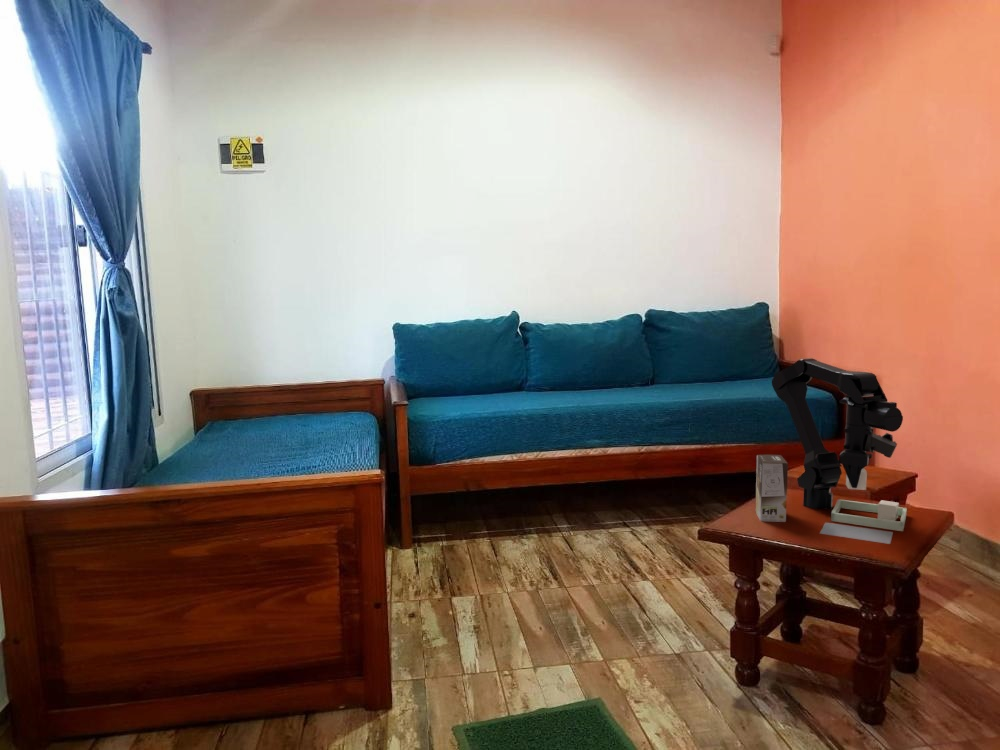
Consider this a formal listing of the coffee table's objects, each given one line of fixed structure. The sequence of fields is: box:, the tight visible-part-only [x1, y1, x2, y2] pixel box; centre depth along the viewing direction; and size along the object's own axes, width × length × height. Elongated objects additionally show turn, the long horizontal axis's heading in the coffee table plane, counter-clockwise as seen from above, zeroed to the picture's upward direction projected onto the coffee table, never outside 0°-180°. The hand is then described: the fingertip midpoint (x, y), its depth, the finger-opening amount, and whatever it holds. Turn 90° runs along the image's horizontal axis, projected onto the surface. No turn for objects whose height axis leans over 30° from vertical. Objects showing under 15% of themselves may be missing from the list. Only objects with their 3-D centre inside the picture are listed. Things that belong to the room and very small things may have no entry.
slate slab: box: [819, 521, 894, 545], centre depth 180 cm, size 15×9×1 cm, turn 59°
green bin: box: [830, 498, 908, 532], centre depth 191 cm, size 16×13×3 cm
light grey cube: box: [877, 499, 900, 521], centre depth 190 cm, size 4×4×4 cm
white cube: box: [845, 467, 868, 491], centre depth 188 cm, size 4×4×4 cm
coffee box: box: [755, 454, 789, 523], centre depth 193 cm, size 9×6×16 cm
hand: (855, 485), depth 188 cm, fingers closed on white cube, 5 cm apart
